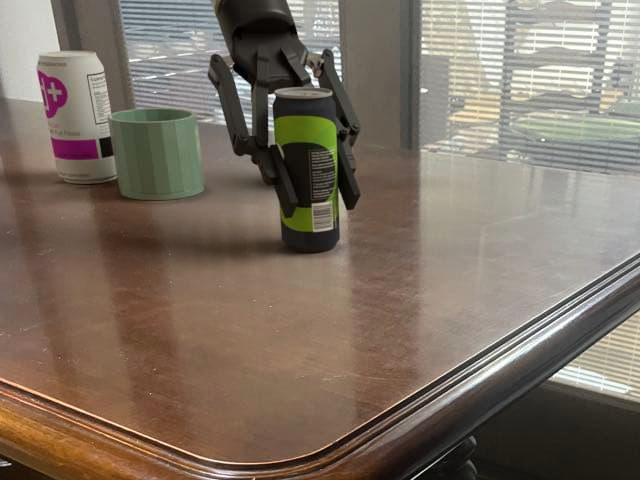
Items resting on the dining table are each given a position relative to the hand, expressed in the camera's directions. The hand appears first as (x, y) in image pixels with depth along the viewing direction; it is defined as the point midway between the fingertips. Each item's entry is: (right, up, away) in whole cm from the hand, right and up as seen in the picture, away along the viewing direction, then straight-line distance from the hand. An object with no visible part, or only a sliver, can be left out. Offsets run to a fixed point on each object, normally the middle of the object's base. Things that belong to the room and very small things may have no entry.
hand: (323, 206), depth 89 cm
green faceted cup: (-23, +12, +25) cm, 36 cm away
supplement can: (-35, +15, +31) cm, 49 cm away
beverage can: (-2, -2, +5) cm, 6 cm away
